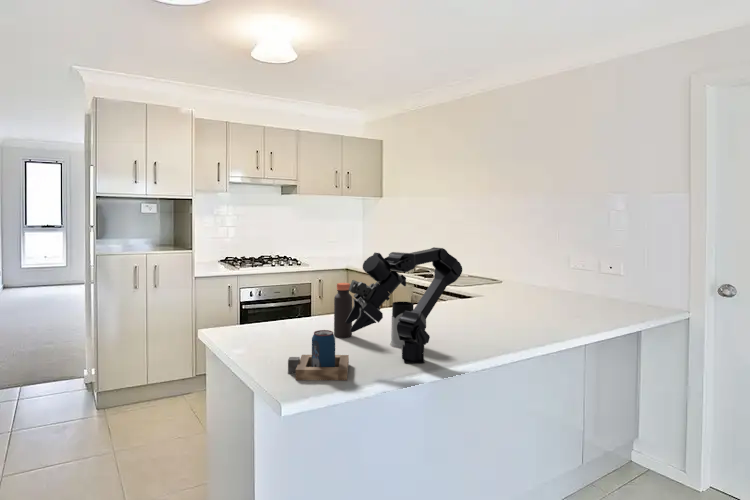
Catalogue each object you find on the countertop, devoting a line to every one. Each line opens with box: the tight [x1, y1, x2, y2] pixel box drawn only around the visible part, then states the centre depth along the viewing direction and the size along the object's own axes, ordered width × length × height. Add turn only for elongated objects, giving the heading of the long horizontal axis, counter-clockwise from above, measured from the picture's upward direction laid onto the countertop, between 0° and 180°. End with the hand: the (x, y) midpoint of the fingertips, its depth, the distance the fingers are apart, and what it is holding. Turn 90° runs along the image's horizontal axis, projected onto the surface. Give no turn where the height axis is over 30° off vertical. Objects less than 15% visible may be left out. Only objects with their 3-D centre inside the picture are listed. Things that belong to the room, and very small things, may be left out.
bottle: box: [333, 282, 353, 339], centre depth 192 cm, size 7×7×20 cm
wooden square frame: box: [287, 354, 350, 381], centre depth 151 cm, size 18×14×4 cm
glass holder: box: [389, 301, 414, 349], centre depth 184 cm, size 9×14×15 cm, turn 15°
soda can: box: [311, 329, 336, 367], centre depth 150 cm, size 7×7×12 cm
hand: (349, 326), depth 152 cm, fingers open, 9 cm apart
